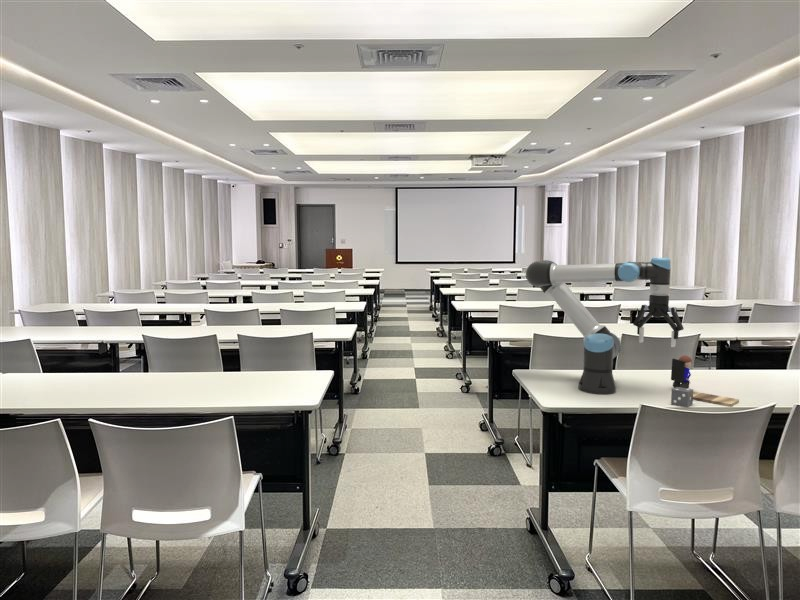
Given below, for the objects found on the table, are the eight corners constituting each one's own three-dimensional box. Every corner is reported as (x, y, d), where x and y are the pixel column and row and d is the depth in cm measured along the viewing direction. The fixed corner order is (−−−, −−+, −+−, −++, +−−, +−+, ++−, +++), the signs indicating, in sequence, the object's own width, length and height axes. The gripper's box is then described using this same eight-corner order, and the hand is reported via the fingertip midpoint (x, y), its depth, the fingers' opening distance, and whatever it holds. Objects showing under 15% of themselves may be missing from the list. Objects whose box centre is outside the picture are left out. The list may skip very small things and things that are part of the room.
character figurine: (693, 392, 244) (695, 357, 242) (674, 392, 245) (676, 356, 243) (687, 388, 251) (688, 354, 250) (669, 387, 252) (670, 353, 251)
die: (670, 404, 226) (671, 389, 225) (676, 401, 230) (677, 386, 230) (687, 407, 222) (688, 392, 221) (692, 404, 226) (693, 389, 226)
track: (674, 396, 238) (674, 393, 238) (683, 392, 245) (683, 389, 245) (730, 406, 223) (731, 404, 223) (738, 401, 230) (739, 399, 230)
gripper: (626, 293, 250) (624, 341, 252) (686, 297, 232) (683, 349, 234) (634, 292, 255) (632, 339, 258) (693, 296, 237) (691, 347, 239)
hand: (656, 344), depth 246 cm, fingers open, 13 cm apart
